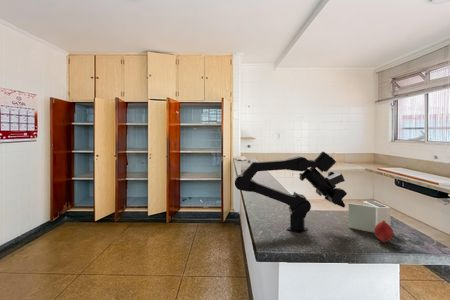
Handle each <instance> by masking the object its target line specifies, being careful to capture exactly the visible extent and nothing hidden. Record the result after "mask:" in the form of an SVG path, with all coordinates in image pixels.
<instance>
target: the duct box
mask: <svg viewBox="0 0 450 300" xmlns="http://www.w3.org/2000/svg"><path fill="white" fill-rule="evenodd" d="M362 205H366V206H373V207H376V225H377V224H378V223H380V222H382V221H383V220H385V222H386V223H387V224H388V225H389V226H390V227H391V207H390V206H388V205H385V204H383V203H381V202H378V201H375V200H367V201H366V200H365V201H364V200H363V201H362Z"/></svg>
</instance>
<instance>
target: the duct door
mask: <svg viewBox="0 0 450 300" xmlns="http://www.w3.org/2000/svg"><path fill="white" fill-rule="evenodd" d="M375 227H376V207H373V206H366V205H363V204H358V203H351V202H349V203H348V228H350V229H355V230H359V231H365V232H370V233H374V229H375Z"/></svg>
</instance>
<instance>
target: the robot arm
mask: <svg viewBox="0 0 450 300" xmlns="http://www.w3.org/2000/svg"><path fill="white" fill-rule="evenodd" d="M335 164H337V161H336V160H335V159H334V157H332V156H330V155H329V154H328V153H326V152H325V151H321V152H320V154H318V156H317V157H316V158H315V159H314V160H313V159H307V158H306V157H305V156H304V157H303V156H300V155H299V156H294V157H290V158H287V159H283V160H269V161H266V160H265V161H252V162H251V163H250V165H249V166H248V167H247V168H246V169H245V170H244V171H243V172H242V174H241V173H240V174H238V175H237V176H236V178H235V180H234V186H235V188H236V189H237V190H239V191H244V192H249V193H256V194H259V195H262V196H264V197H267V198H269V199H272V200H275V201H278V202H280V203H282V204H285V205H287V206H289V207H288V210H289V213H290V215H289V219H290V220H289V222H290V223H289V225H290V226H289V227H288V228H286V230H287V231H291V232H295V233H299V234H302V233H304V232H306V231H307V230H309V228H308V227H305V224H306V222H305V221H306V220H305V219H306V217H307V214H308V213H309V212H310V210H311V208H312V204H311V202H310V201H309V200H308V199H307V197H306V196H305V195H304V194H301V193H297V192H296V191H293V194H288V193H286V192H283V191H280V190H278V189H275V188H272V187H269V186H267V185H265V184H262V183H259V182H257V181H255V180H254V179H253V178H254V177H255V176H256V174H257V173H258V172H266V171H267V172H268V171H270V172H271V171H280V170H283V171H284V170H286V171H293V172H300V173H299V178H298V179H299V180H300V181H303V182H304V180H305V179H306V181H308V182H309V184H310V185H311V186H312V187H313V188H314V189H315V194H317V195H318V196H320V197H322V196H323V197H324V198H323V199H325V200H326V201H328V202H330V203H332V204H333V205H337V206H339V207H341V208H343V209H344V208H345V207H346V203H344V201H343V198H344V197H345V196H347V192H346V190H344V189H343V188H340V187H338V188H337V186H336V185H339V184H340V183H343V182H345V181H346V179H345V178H344V176H343V174H342V172H334V171H329V170H330V169H331V168H332V167H333V166H335ZM328 171H329V172H328ZM323 172H324V173H327V172H328V173H327V177H325V176H324V175H323V174H322V173H323Z"/></svg>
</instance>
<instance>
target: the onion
mask: <svg viewBox="0 0 450 300" xmlns="http://www.w3.org/2000/svg"><path fill="white" fill-rule="evenodd" d="M373 233H374V235H375V237H377V239H379V240H380V241H381V242H382V243H386V242H387V241H389V240H390V239H392V238H393V237H394V230H393V228H392V227H391V225H390V226H389V225H388V224H387V223H386V222H385V220H383V221H382V222H380V223H378V224H377V225H376V227H375V229H374V232H373Z"/></svg>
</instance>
